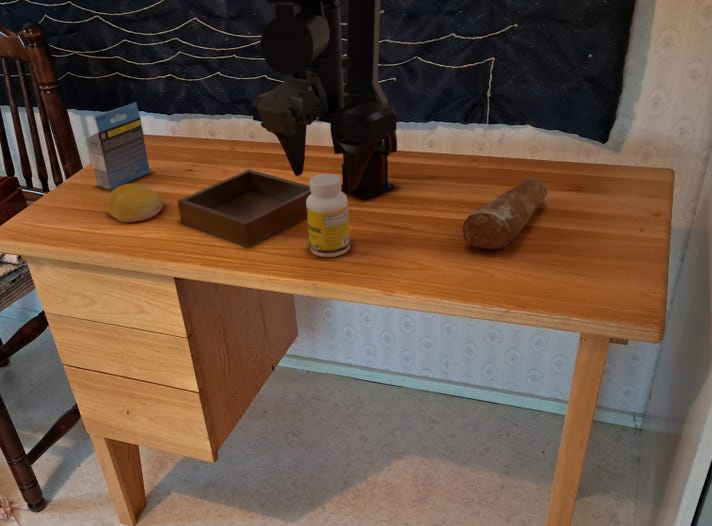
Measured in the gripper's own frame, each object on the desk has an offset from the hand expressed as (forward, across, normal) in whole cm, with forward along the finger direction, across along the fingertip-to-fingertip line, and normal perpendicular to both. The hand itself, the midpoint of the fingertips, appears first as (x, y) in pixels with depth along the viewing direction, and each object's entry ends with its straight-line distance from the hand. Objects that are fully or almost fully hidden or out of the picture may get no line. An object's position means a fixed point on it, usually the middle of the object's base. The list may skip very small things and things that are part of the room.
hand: (325, 182), depth 93 cm
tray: (+9, -17, +2) cm, 20 cm away
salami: (+10, +16, +19) cm, 26 cm away
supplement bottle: (+10, 0, 0) cm, 10 cm away
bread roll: (+10, -34, -7) cm, 36 cm away
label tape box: (+10, -47, 0) cm, 48 cm away
